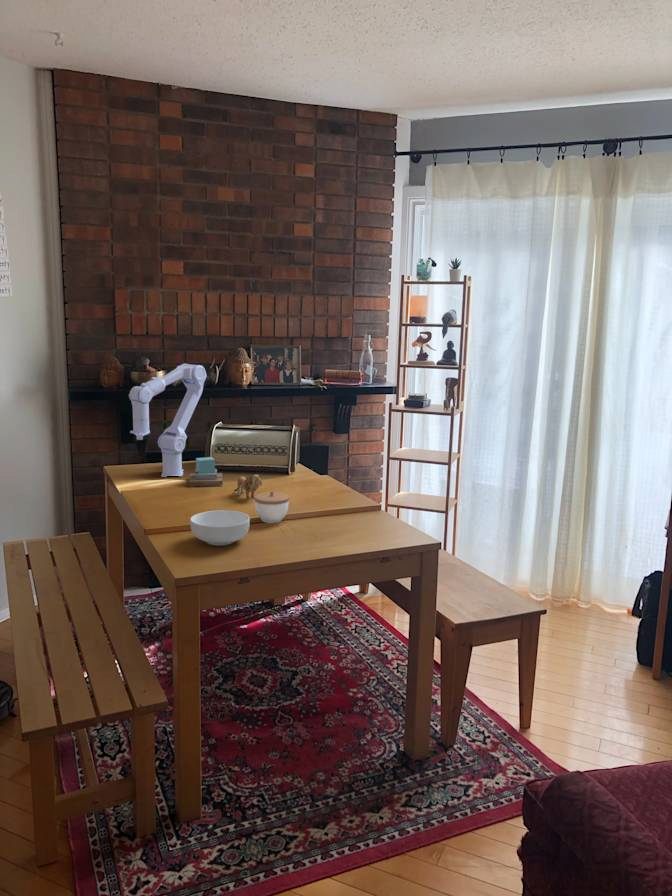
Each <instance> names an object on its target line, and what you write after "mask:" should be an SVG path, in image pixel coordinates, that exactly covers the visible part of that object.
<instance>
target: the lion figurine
mask: <svg viewBox="0 0 672 896" xmlns="http://www.w3.org/2000/svg"><path fill="white" fill-rule="evenodd" d="M236 484H237V488H236V489H234V490H233V492H236V493H237V494H236V497H241V494H244V493H245V501H250V499H252V500H253V499H254V500H255V496H254V494H255V492H256V491H257V489H259V488H260V486H261V487H262V485H263V484H264V480H263V479H262V478H261V477H260V476H259V474H252V475H250V476H249V477H247V478H246V477H245V476H240V477H238V478H237V483H236ZM244 490H245V491H244ZM249 495H250V496H249Z"/></svg>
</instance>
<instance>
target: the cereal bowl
mask: <svg viewBox="0 0 672 896" xmlns="http://www.w3.org/2000/svg"><path fill="white" fill-rule="evenodd" d="M189 522H190V530H191V532H192V534H193V535H194V537H196V539H199V540H201V541H202V542H206V544H208V545H211V546H219V547H220V546H229V545H231V544H233V543H234V542H236V541H238V540H240V539H242V538H244V537H245V536H246V535H247V533H248V531H249V529H250V522H251V519H250V516H249V515H248V514H247V513H245V512H242V511H237V510H229V509H227V510H226V509H225V510H224V509H222V510H221V509H219V510H208V511H204V512H199V513H196V514H194V515H192V516H191V517H190V521H189Z"/></svg>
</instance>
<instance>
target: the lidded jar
mask: <svg viewBox="0 0 672 896" xmlns="http://www.w3.org/2000/svg"><path fill="white" fill-rule="evenodd" d="M254 497H255V499H254V507H255V512H256V514H257V516H258V518H260V520H261V521H262V522H263V523H266V524H277V523H280V522H282V520H283V519H284V518H285V517H286V515H287V513H288V511H289V505H290V504H289V501H290V495H289V494H286V493H285V492H278V491H275V492H274V491H273V490H270V491H267V492H259V493H258V494H255V496H254Z"/></svg>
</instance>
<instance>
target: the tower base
mask: <svg viewBox="0 0 672 896" xmlns="http://www.w3.org/2000/svg"><path fill="white" fill-rule="evenodd" d="M188 485H189V486H204V487H221V486H220V485H223V472H218V469H217V468H215V473H205V474H199V473H198V472H196V469H195V470H194V473H189V480H188ZM189 486H188V487H189Z"/></svg>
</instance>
